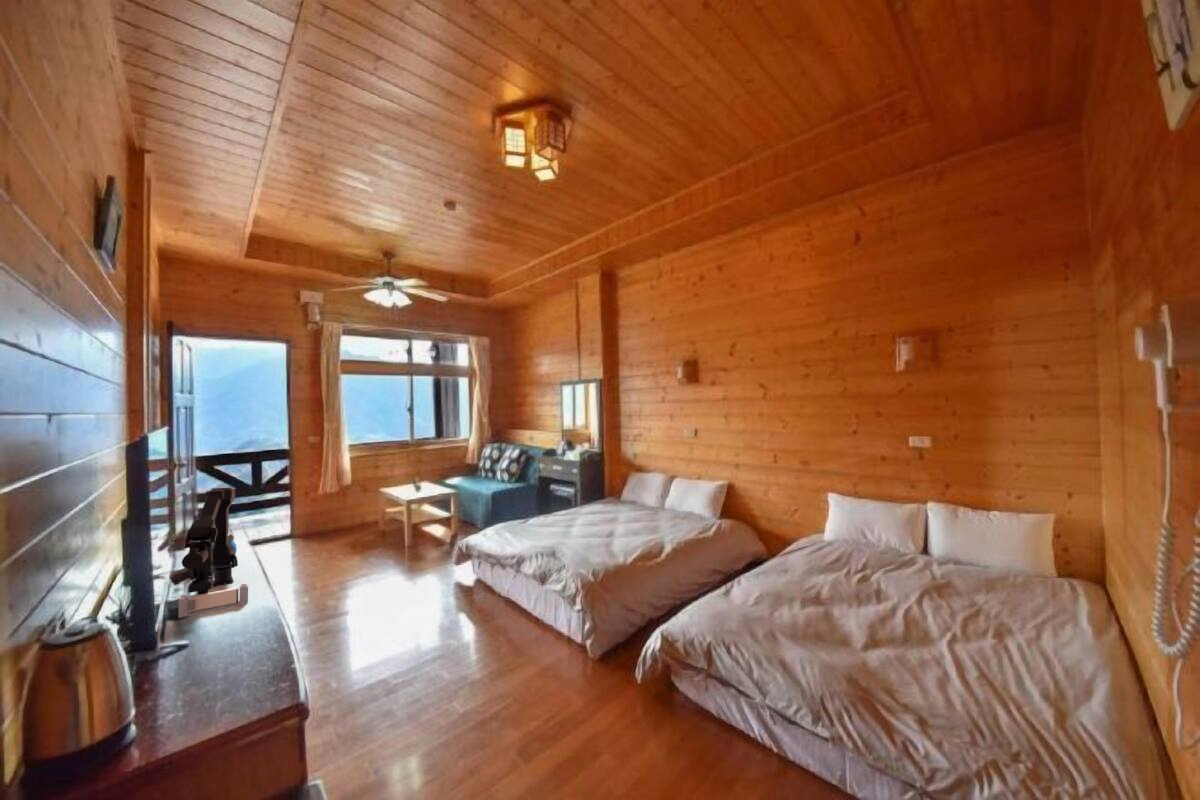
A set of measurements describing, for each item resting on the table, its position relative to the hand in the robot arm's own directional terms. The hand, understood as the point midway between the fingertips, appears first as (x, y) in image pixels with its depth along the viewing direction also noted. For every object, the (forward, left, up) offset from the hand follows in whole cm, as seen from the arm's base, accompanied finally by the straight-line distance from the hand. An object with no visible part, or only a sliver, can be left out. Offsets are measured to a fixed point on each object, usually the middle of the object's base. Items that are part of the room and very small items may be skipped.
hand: (202, 600), depth 170 cm
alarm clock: (-47, +6, -3) cm, 47 cm away
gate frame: (+4, +3, -3) cm, 6 cm away
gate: (+3, +4, -2) cm, 5 cm away
